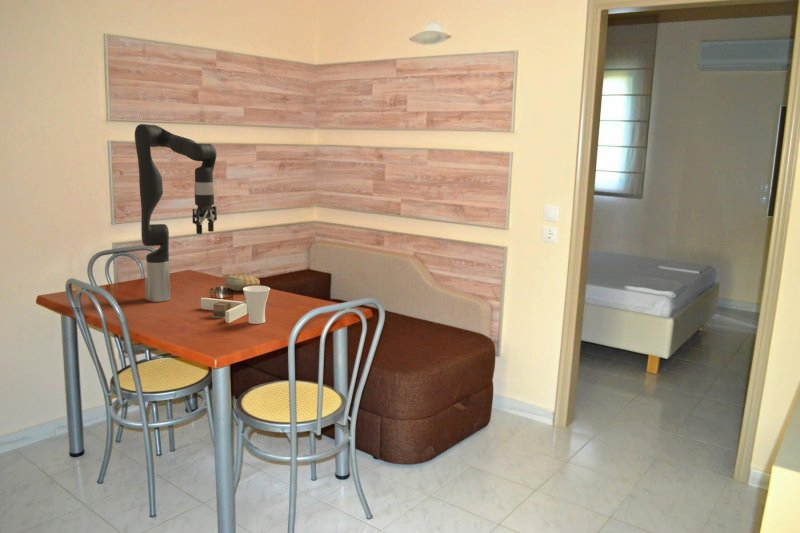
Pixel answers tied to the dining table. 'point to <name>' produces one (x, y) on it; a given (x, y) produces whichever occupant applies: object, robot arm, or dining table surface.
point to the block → (221, 308)
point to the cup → (256, 302)
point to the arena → (232, 314)
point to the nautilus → (240, 281)
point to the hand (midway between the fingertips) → (205, 232)
